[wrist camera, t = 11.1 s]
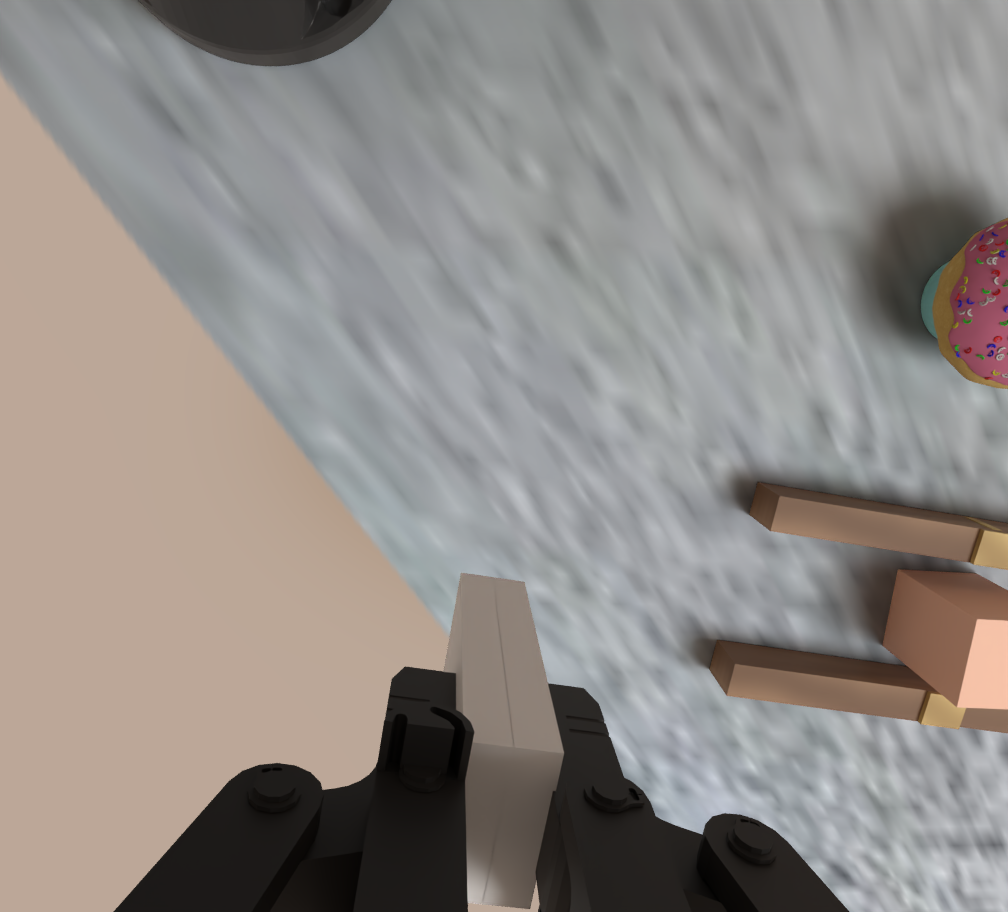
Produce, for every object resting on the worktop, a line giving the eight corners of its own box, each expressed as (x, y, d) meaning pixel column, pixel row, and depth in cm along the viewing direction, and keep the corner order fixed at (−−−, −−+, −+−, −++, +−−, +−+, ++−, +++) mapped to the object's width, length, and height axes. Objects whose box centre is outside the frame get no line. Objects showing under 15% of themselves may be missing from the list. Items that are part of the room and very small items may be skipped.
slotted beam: (757, 481, 43) (782, 496, 39) (1159, 547, 45) (1213, 567, 42) (709, 670, 45) (728, 699, 42) (1093, 722, 48) (1139, 754, 44)
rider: (897, 569, 45) (977, 619, 38) (976, 573, 45) (1068, 623, 38) (882, 645, 46) (956, 707, 39) (958, 648, 46) (1046, 710, 39)
